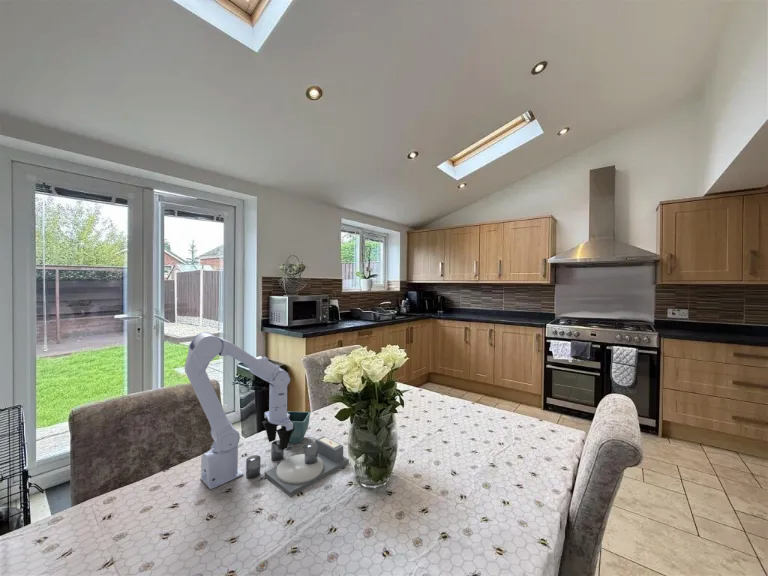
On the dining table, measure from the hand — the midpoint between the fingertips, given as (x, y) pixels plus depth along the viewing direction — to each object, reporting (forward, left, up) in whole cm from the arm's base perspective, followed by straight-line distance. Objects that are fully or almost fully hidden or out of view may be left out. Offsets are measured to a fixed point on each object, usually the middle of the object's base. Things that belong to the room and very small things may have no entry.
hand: (278, 444), depth 106 cm
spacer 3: (+4, -13, -2) cm, 14 cm away
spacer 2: (0, 0, -5) cm, 5 cm away
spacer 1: (-10, -3, -5) cm, 11 cm away
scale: (+3, -13, -4) cm, 14 cm away
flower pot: (+11, +6, -5) cm, 13 cm away
